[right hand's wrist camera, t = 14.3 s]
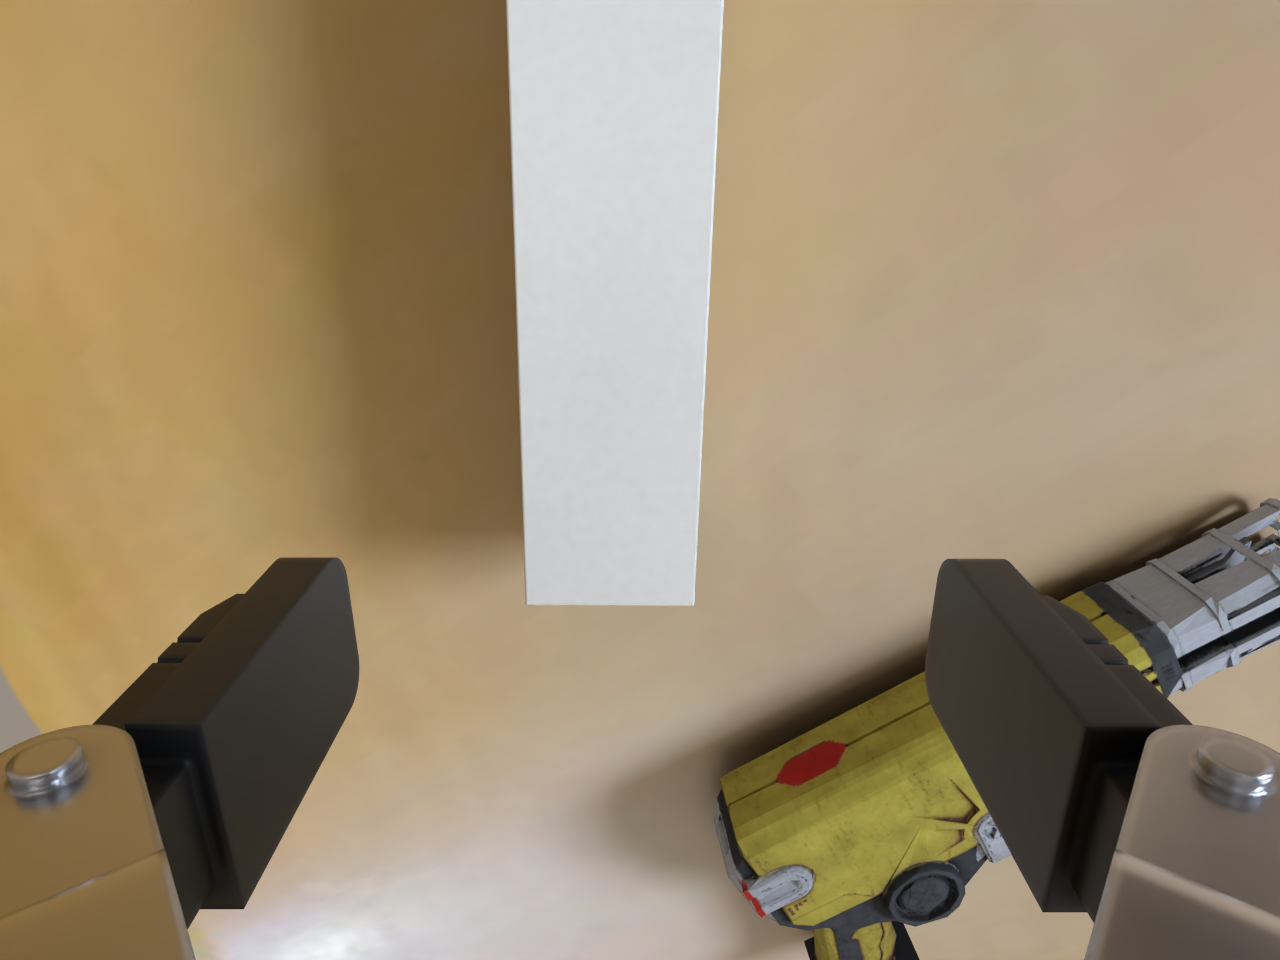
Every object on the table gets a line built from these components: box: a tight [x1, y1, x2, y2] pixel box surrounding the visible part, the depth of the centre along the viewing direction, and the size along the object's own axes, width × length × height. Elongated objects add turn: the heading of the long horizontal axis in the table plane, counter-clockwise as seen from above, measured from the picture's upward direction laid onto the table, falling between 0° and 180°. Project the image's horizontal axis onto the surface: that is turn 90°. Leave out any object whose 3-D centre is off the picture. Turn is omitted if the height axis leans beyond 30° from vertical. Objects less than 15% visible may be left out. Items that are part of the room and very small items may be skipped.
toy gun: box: [714, 498, 1280, 960], centre depth 33 cm, size 5×24×15 cm
